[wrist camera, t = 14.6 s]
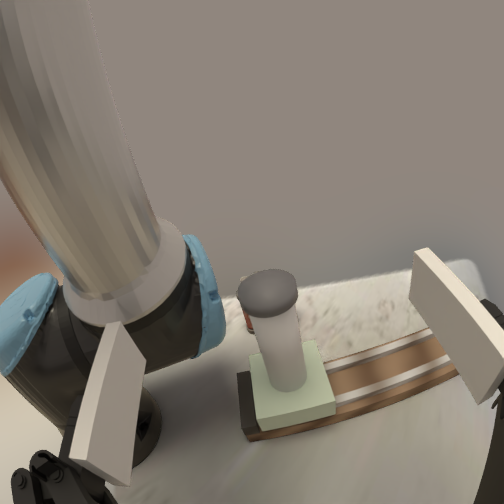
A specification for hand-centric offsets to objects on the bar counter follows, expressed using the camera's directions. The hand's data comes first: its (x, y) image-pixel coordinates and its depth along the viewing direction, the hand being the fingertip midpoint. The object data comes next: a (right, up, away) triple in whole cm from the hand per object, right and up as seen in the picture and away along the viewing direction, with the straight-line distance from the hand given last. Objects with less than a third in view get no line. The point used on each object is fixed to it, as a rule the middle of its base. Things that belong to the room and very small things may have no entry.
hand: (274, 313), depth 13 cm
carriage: (+4, -13, +20) cm, 24 cm away
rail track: (+13, -14, +21) cm, 28 cm away
